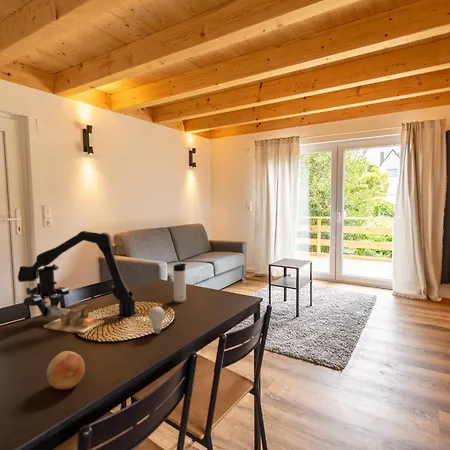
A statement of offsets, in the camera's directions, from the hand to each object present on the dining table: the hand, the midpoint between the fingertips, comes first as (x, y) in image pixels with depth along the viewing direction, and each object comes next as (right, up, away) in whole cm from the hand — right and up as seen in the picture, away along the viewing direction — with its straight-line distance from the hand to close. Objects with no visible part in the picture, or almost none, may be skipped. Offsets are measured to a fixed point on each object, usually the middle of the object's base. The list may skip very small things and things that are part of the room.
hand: (48, 314), depth 137 cm
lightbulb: (+51, -4, -14) cm, 53 cm away
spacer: (+20, 0, -7) cm, 21 cm away
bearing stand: (+14, -3, -5) cm, 15 cm away
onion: (+33, -7, -49) cm, 59 cm away
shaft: (+8, 0, -3) cm, 8 cm away
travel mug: (+55, -1, +27) cm, 61 cm away
